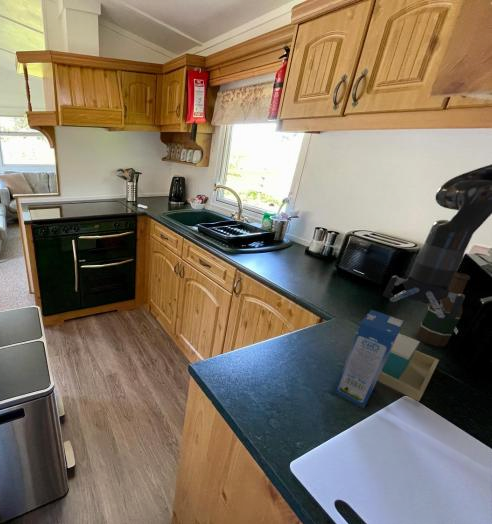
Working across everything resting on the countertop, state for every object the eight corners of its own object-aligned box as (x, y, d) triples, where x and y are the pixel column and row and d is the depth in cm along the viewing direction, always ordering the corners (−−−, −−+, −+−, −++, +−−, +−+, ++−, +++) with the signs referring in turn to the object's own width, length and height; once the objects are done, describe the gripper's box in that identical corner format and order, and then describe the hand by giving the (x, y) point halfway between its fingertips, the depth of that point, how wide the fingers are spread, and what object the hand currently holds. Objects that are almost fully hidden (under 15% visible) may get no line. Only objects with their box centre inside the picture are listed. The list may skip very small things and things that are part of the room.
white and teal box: (409, 363, 82) (420, 341, 80) (398, 380, 75) (409, 357, 73) (384, 352, 87) (394, 331, 84) (371, 368, 79) (381, 345, 77)
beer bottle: (451, 350, 92) (488, 281, 83) (421, 343, 94) (454, 276, 85) (437, 336, 98) (469, 272, 90) (409, 331, 101) (439, 267, 92)
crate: (434, 369, 82) (439, 359, 81) (417, 404, 69) (423, 393, 68) (369, 341, 93) (373, 332, 92) (344, 366, 81) (348, 357, 79)
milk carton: (345, 374, 78) (371, 309, 70) (373, 388, 73) (404, 320, 66) (333, 392, 71) (360, 322, 64) (363, 408, 67) (396, 335, 60)
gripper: (480, 270, 67) (449, 329, 73) (403, 252, 78) (381, 305, 83) (477, 277, 63) (444, 339, 69) (395, 257, 73) (373, 312, 79)
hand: (410, 320), depth 76 cm, fingers open, 8 cm apart
